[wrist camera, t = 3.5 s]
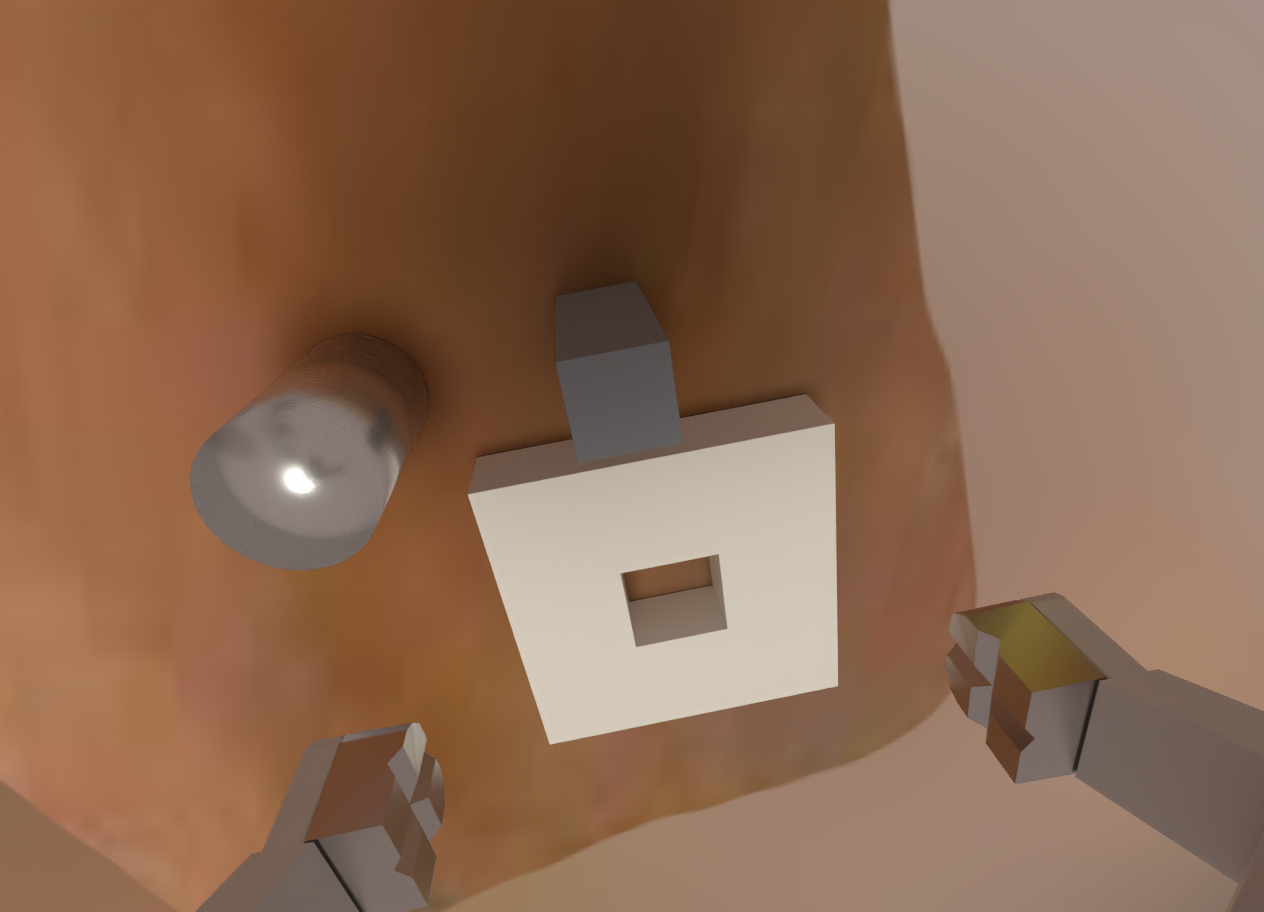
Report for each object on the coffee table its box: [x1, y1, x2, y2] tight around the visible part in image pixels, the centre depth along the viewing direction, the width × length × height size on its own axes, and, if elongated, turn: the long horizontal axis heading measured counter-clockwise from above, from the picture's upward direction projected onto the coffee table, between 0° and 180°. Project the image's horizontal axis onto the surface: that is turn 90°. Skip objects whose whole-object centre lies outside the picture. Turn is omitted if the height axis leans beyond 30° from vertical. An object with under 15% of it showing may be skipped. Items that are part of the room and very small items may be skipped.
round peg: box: [190, 334, 429, 570], centre depth 24 cm, size 6×6×9 cm
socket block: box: [468, 394, 838, 744], centre depth 32 cm, size 16×16×4 cm
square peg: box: [555, 281, 683, 463], centre depth 24 cm, size 4×4×9 cm
